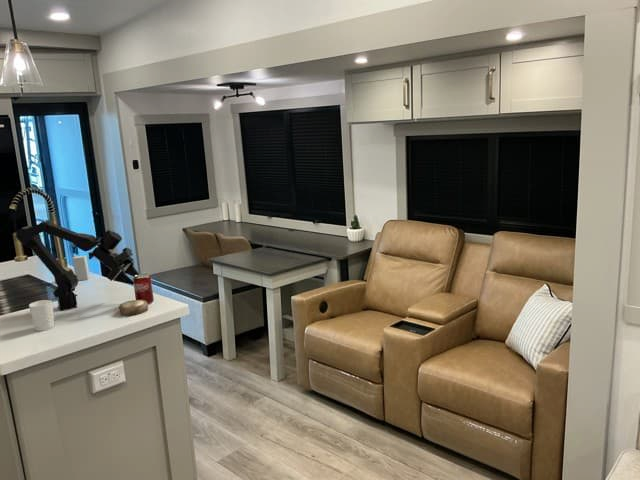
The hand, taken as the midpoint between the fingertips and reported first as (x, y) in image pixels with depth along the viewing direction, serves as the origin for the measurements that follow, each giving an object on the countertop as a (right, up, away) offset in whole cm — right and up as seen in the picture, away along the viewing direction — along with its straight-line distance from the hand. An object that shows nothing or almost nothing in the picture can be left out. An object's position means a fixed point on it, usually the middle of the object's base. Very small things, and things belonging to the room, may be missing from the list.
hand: (137, 280), depth 225 cm
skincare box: (-44, -3, +46) cm, 64 cm away
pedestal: (+2, -12, -8) cm, 15 cm away
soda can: (+3, -10, +2) cm, 10 cm away
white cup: (-28, -17, -22) cm, 39 cm away
